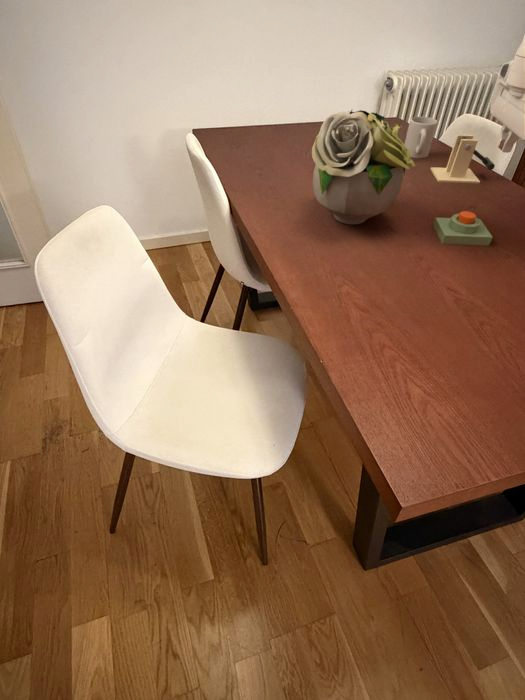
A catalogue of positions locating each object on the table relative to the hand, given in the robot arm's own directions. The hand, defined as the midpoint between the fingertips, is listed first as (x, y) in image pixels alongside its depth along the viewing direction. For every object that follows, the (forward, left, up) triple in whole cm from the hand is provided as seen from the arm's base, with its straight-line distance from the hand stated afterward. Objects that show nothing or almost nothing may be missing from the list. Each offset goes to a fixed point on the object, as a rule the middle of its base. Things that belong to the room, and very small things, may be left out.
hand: (503, 150), depth 87 cm
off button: (+4, +3, -15) cm, 16 cm away
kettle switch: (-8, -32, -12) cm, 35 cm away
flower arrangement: (+30, -4, -19) cm, 35 cm away
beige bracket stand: (-4, -32, -19) cm, 37 cm away
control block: (+4, +3, -19) cm, 19 cm away
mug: (+4, -49, -19) cm, 52 cm away
